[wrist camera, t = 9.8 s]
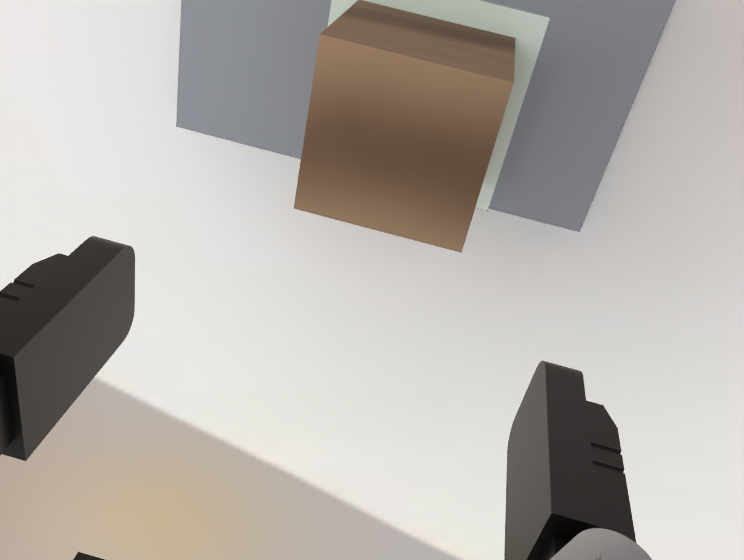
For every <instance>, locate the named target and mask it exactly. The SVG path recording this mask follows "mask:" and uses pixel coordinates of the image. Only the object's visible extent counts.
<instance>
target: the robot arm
mask: <svg viewBox="0 0 744 560" xmlns="http://www.w3.org/2000/svg"><path fill="white" fill-rule="evenodd" d="M134 304H135V253H134V250H133V248H132V247H131V246H128V245H124V244H121V243H117V242H113V241H110V240H106V239H102V238H99V237H95V236H92V237H90V238H88V239H87V240H86V241H85V242H83V243H82V244H81V245H80V246H79V247H78V248H77V249H76V250H74V251H73V252H72V253H71V254H70V255H69V256H66V255H63V254H56V255H54V256H51V257H49V258H46V259H44V260H41V261H39V262H37V263H34V264H32V265H31V266H30V267H29V268H27V269H26V270H25V271H24V272H23V273H21V274H20V275H19V276H18V277H17V278H16V279H14V282H13V283H10V284H8V285H7V286H6V287H5V288H4V289H2V290H1V291H0V455H1V454H4V455H7V456H11V457H14V458H18V459H21V460H25V461H26V460H27V459H28V458H29V456H30V455H31V454H32V453H33V451H34V450H35V449H36V448H37V446H38V445H39V444H40V443H41V442H42V440H43V439H44V438H45V436H46V435H47V434H48V433H49V432H50V431H51V429H52V428H53V427H54V426H55V424H56V423H57V422H58V421H59V420H60V418H61V417H62V416H63V415H64V413H65V412H66V411H67V410H68V408H69V407H70V406H71V405H72V403H73V402H74V401H75V400H76V399H77V397H78V396H79V395H80V394H81V392H82V391H83V390H84V389H85V388H86V386H87V385H88V384H89V383H90V381H91V380H92V379H93V378H94V377H95V375H96V374H97V373H98V372H99V370H100V369H101V368H102V367H103V366H104V364H105V363H106V362H107V361H108V359H109V358H110V357H111V356H112V354H113V353H114V352H115V351H116V350H117V348H118V347H119V346H120V345H121V343H122V342H123V341H124V339H125V338H126V336H127V334H128V332H129V330H130V327H131V325H132V321H133V317H134ZM620 453H621V447H620V441H619V434H618V428H617V427H616V425H615V423H614V422H613V420H612V419H611V417H610V416H609V414H608V412H607V411H606V409H605V408H604V406H603V405H600V404H596V403H593V402H589V401H586V398H585V389H584V380H583V374H582V372H581V371H578V370H574V369H571V368H567V367H564V366H560V365H556V364H553V363H549V362H545V361H541V362H540V363H539V365H538V366H537V368H536V371H535V373H534V375H533V377H532V380H531V382H530V384H529V387H528V389H527V391H526V393H525V396H524V398H523V400H522V403H521V405H520V407H519V410H518V412H517V414H516V416H515V419H514V422H513V425H512V428H511V432H510V436H509V442H508V450H507V485H506V523H505V560H652V559H651V558H650V556H649V555H648V554H647V553H646V552H645V551H644V550H643V549H642V548H641V547H640V546H639V545H638V544H636V539H635V533H634V527H633V520H632V514H631V508H630V502H629V496H628V490H627V484H626V477H625V474H623V471H624V465H623V459H622V455H620ZM74 560H104V559H101V558H97V557H94V556H91V555H87V554H83V553H80V552H78V553H77V555H76V556H75V558H74Z"/></svg>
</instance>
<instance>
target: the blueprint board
mask: <svg viewBox="0 0 744 560" xmlns="http://www.w3.org/2000/svg"><path fill="white" fill-rule="evenodd" d="M356 1H358V0H182V3H181V27H180V51H179V74H178V98H177V122H176V127H180V128H184V129H188V130H192V131H196V132H199V133H203V134H207V135H211V136H215V137H218V138H222V139H226V140H230V141H234V142H238V143H241V144H245V145H249V146H253V147H257V148H261V149H264V150H268V151H272V152H276V153H280V154H283V155H287V156H291V157H295V158H299V159H301V157H302V150H303V143H304V136H305V130H306V123H307V116H308V109H309V102H310V96H311V89H312V82H313V75H314V69H315V62H316V55H317V48H318V42H319V35H320V33H321V32H323V31H324V30H325V29H326V28H327V27H328V26H329V25H331V24H332V23H333V22H334V21H335V20H336V19H337V18H338V17H340V16H341V15H342V14H343V13H344V12H345V11H346V10H347V9H349V8H350V7H351V6H352V5H353V4H354V3H355V2H356ZM363 1H367V2H371V3H376V4H380V5H384V6H388V7H392V8H396V9H400V10H404V11H408V12H412V13H416V14H420V15H424V16H428V17H432V18H436V19H441V20H445V21H449V22H453V23H457V24H461V25H465V26H469V27H473V28H477V29H481V30H485V31H489V32H493V33H497V34H501V35H505V36H510V37H514V38H515V66H514V84H513V87H512V90H511V94H510V97H509V100H508V103H507V107H506V110H505V113H504V116H503V120H502V123H501V126H500V129H499V132H498V136H497V139H496V142H495V145H494V149H493V152H492V155H491V158H490V161H489V165H488V168H487V171H486V174H485V178H484V181H483V184H482V187H481V191H480V194H479V197H478V200H477V203H476V207H475V208H478V209H482V210H486V211H488V208H490V209H494V210H497V211H501V212H505V213H509V214H513V215H516V216H520V217H524V218H528V219H532V220H536V221H539V222H543V223H547V224H551V225H555V226H558V227H562V228H566V229H570V230H574V231H578V232H580V229H581V227H582V225H583V222H584V220H585V217H586V215H587V213H588V210H589V208H590V205H591V203H592V201H593V198H594V196H595V193H596V191H597V188H598V186H599V184H600V181H601V179H602V176H603V174H604V172H605V169H606V167H607V164H608V162H609V160H610V157H611V155H612V152H613V150H614V148H615V145H616V143H617V140H618V138H619V135H620V133H621V131H622V128H623V126H624V123H625V121H626V119H627V116H628V114H629V111H630V109H631V107H632V104H633V102H634V99H635V97H636V94H637V92H638V90H639V87H640V85H641V82H642V80H643V78H644V75H645V73H646V70H647V68H648V66H649V63H650V61H651V58H652V56H653V53H654V51H655V49H656V46H657V44H658V41H659V39H660V37H661V34H662V32H663V29H664V27H665V25H666V22H667V20H668V17H669V15H670V12H671V10H672V8H673V5H674V3H675V0H363Z"/></svg>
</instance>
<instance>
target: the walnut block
mask: <svg viewBox="0 0 744 560" xmlns="http://www.w3.org/2000/svg"><path fill="white" fill-rule="evenodd" d="M514 66H515V38H514V37H510V36H505V35H501V34H497V33H493V32H489V31H485V30H481V29H477V28H473V27H469V26H465V25H461V24H457V23H453V22H449V21H445V20H441V19H436V18H432V17H428V16H424V15H420V14H416V13H412V12H408V11H404V10H400V9H396V8H392V7H388V6H384V5H380V4H376V3H371V2H367V1H363V0H358V1H356V2H355V3H354V4H353V5H352V6H351V7H350V8H349V9H347V10H346V11H345V12H344V13H343V14H342V15H341V16H340V17H338V18H337V19H336V20H335V21H334V22H333V23H332V24H331V25H329V26H328V27H327V28H326V29H325V30H324V31H323V32H321V33H320V35H319V42H318V48H317V55H316V62H315V69H314V75H313V82H312V89H311V96H310V102H309V109H308V116H307V123H306V130H305V136H304V143H303V150H302V157H301V163H300V170H299V177H298V184H297V190H296V197H295V204H294V209H298V210H302V211H306V212H309V213H313V214H317V215H321V216H325V217H328V218H332V219H336V220H340V221H344V222H347V223H351V224H355V225H359V226H363V227H366V228H370V229H374V230H378V231H382V232H385V233H389V234H393V235H397V236H401V237H404V238H408V239H412V240H416V241H420V242H423V243H427V244H431V245H435V246H439V247H442V248H446V249H450V250H454V251H458V252H462V249H463V245H464V242H465V239H466V236H467V233H468V229H469V226H470V223H471V220H472V216H473V213H474V210H475V207H476V203H477V200H478V197H479V194H480V191H481V187H482V184H483V181H484V178H485V174H486V171H487V168H488V165H489V161H490V158H491V155H492V152H493V149H494V145H495V142H496V139H497V136H498V132H499V129H500V126H501V123H502V120H503V116H504V113H505V110H506V107H507V103H508V100H509V97H510V94H511V90H512V87H513V84H514Z"/></svg>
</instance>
